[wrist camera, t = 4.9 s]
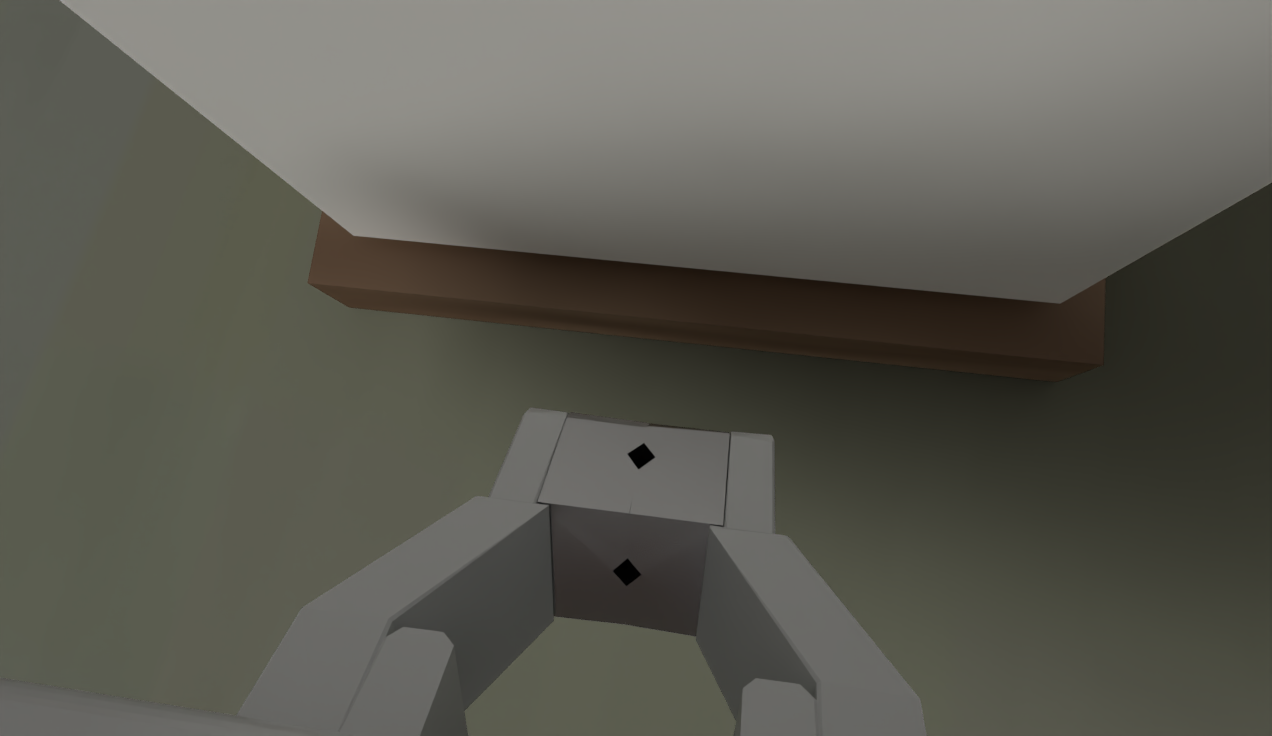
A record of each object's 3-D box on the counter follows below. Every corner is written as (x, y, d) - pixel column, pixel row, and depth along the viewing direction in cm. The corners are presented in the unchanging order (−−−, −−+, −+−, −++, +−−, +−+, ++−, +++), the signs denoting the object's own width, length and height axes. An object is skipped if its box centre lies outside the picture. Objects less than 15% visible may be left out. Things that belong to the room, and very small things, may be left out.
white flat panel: (1060, 303, 15) (2487, -515, 3) (353, 235, 16) (-575, -508, 4) (1063, 204, 15) (2357, -882, 3) (370, 145, 16) (-448, -771, 5)
